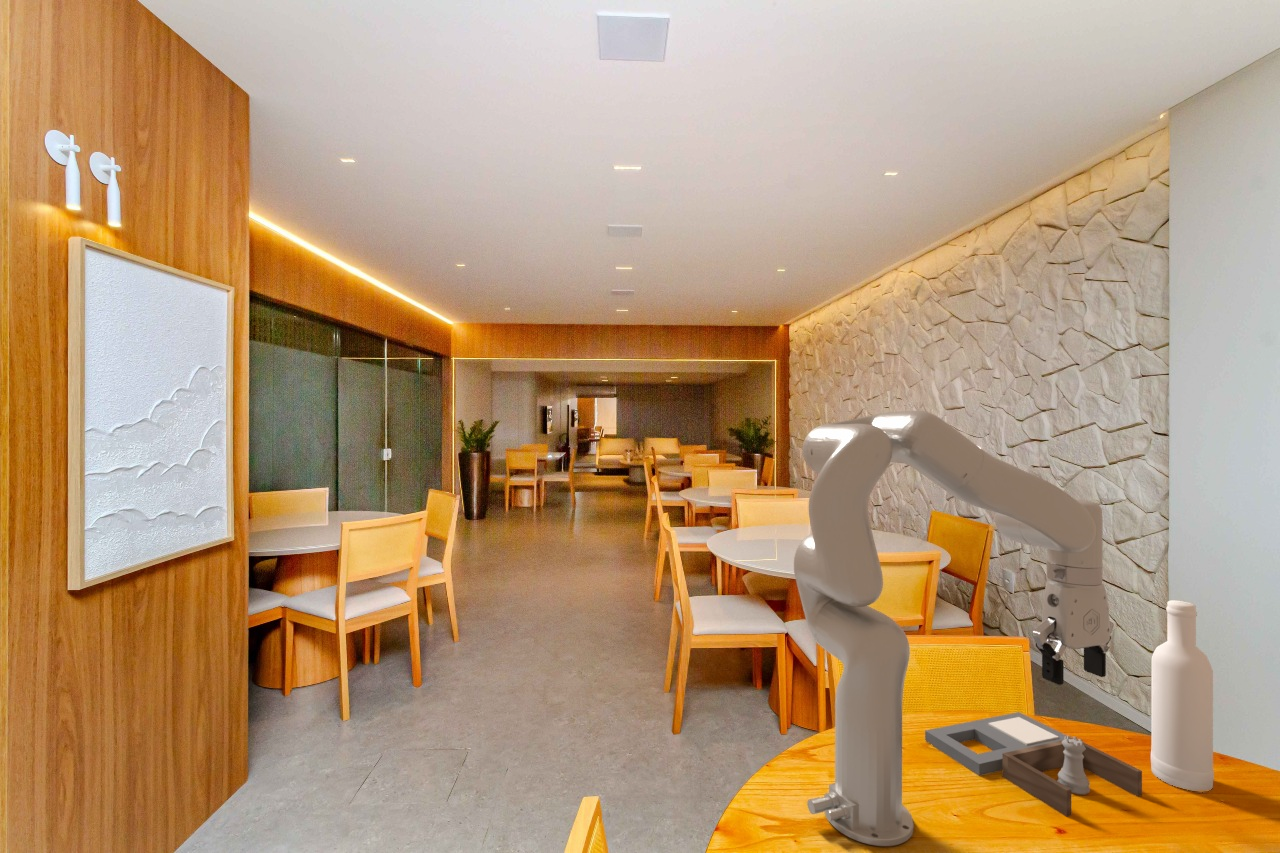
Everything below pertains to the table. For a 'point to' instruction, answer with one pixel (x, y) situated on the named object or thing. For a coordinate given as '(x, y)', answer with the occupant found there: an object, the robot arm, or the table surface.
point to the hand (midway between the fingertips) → (1073, 677)
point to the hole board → (991, 739)
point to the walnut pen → (1034, 760)
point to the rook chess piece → (1074, 767)
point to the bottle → (1182, 705)
